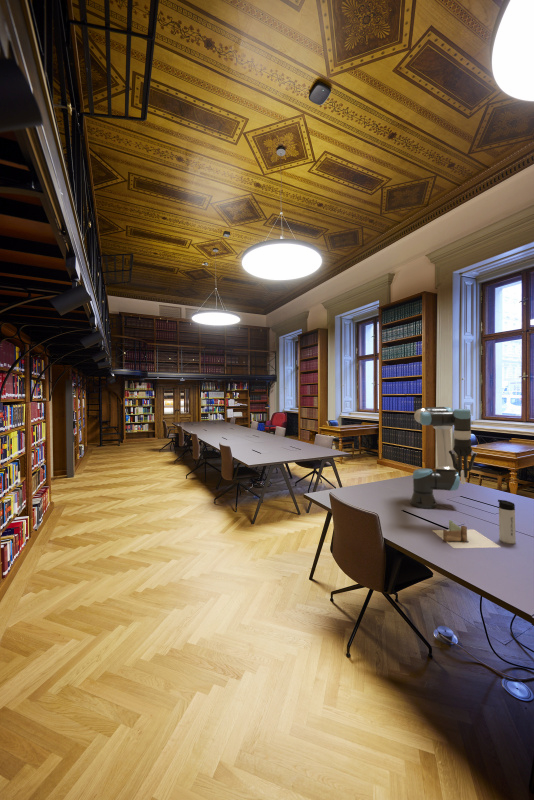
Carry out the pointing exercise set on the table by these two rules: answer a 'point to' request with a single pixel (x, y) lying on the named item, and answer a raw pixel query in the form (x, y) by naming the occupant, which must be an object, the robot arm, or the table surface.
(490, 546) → the card
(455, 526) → the hinged rail
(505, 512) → the travel mug
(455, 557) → the table surface
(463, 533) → the fence fixed
